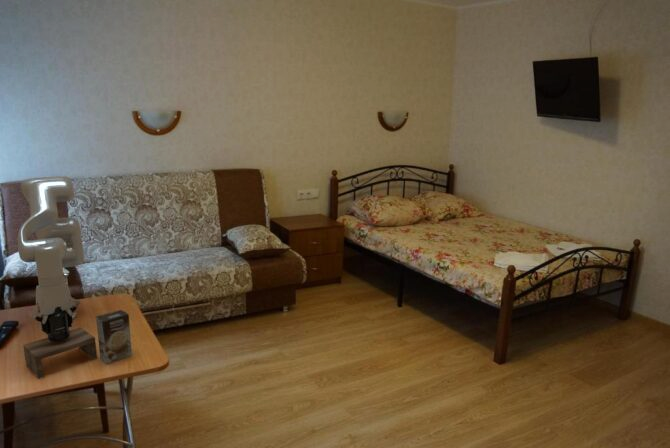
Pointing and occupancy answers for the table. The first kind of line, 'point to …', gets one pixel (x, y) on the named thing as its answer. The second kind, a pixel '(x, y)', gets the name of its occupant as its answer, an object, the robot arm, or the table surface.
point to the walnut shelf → (58, 349)
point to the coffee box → (114, 336)
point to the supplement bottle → (58, 325)
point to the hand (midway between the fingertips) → (58, 328)
